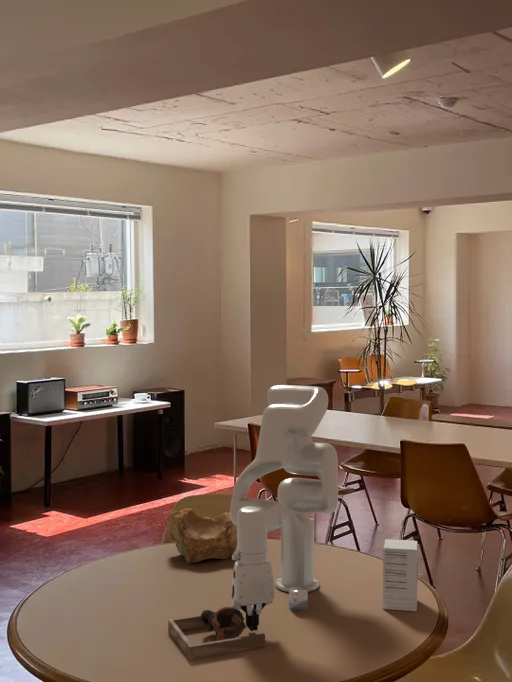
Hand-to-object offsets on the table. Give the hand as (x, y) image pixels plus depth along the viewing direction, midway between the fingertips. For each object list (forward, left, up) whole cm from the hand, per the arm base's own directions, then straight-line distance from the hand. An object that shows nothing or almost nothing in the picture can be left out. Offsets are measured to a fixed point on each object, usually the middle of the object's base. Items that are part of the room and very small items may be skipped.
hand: (252, 628), depth 211 cm
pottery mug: (-1, -8, -1) cm, 8 cm away
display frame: (0, -9, -1) cm, 9 cm away
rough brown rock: (-62, +7, -1) cm, 62 cm away
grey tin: (-11, +18, -1) cm, 21 cm away
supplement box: (-3, +45, -1) cm, 45 cm away
